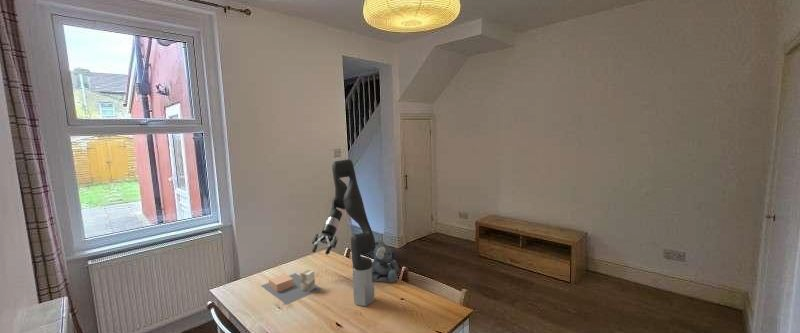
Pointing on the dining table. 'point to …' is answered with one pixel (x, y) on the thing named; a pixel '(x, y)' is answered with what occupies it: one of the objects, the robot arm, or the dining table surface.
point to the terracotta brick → (281, 282)
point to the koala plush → (384, 264)
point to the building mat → (291, 291)
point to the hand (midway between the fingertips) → (319, 253)
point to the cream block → (307, 280)
